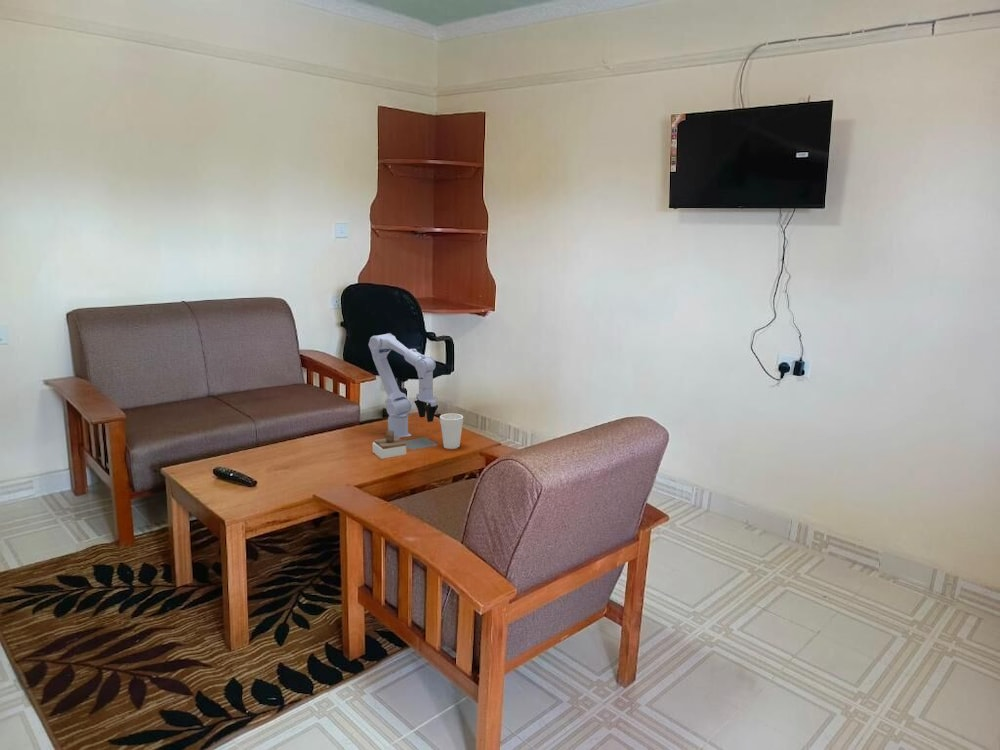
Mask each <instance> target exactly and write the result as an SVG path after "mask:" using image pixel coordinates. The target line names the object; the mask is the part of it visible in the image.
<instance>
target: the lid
mask: <svg viewBox="0 0 1000 750" xmlns="http://www.w3.org/2000/svg"><path fill="white" fill-rule="evenodd" d="M385 437H386V438H378V439H374V442H375V443H376V444H377V445H378V446H380V447H381V448H382V449H388V448H394V447H400V446H406V443H405V442H404V441H405V440H403V439H401V438H398V437H394V431H388V430H387V431H386V432H385Z"/></svg>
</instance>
